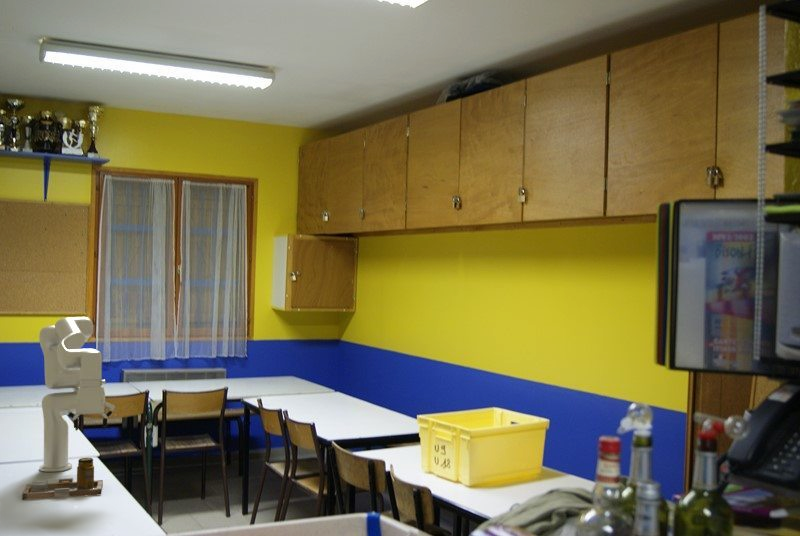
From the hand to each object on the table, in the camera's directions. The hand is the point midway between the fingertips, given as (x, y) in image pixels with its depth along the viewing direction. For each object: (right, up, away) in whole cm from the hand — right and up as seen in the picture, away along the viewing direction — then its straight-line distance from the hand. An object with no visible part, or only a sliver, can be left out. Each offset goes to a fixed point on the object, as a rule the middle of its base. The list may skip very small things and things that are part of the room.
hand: (90, 429), depth 314 cm
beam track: (-10, -24, 0) cm, 26 cm away
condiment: (-3, -24, +2) cm, 24 cm away
